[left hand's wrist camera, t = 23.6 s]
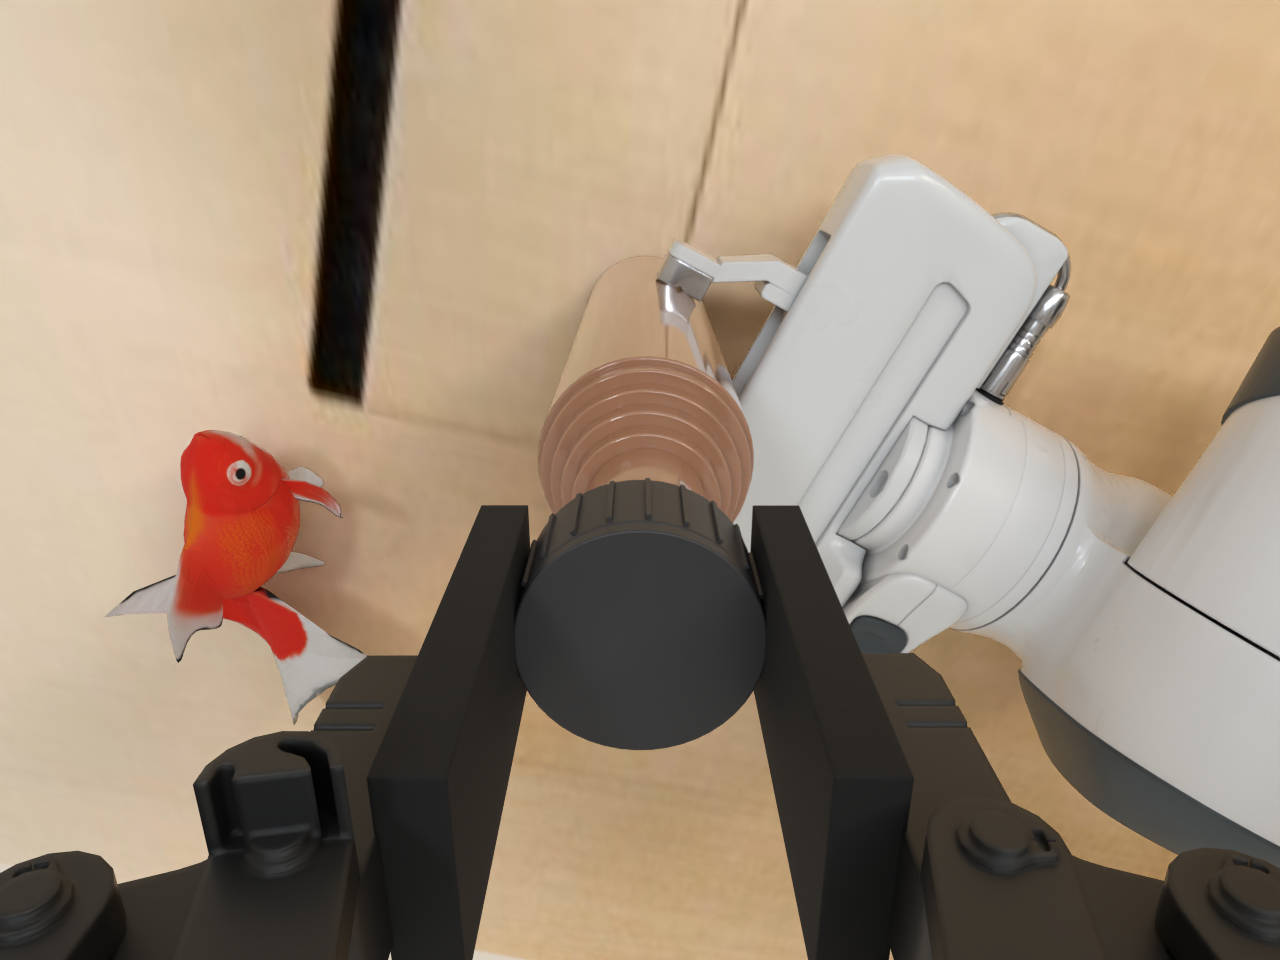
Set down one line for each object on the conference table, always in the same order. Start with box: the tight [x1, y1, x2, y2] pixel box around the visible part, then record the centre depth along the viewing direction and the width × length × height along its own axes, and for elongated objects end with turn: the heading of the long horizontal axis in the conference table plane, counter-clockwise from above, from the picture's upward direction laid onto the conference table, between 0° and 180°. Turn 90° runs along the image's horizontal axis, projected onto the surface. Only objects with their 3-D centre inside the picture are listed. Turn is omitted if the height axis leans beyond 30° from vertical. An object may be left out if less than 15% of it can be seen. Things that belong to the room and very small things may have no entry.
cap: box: [514, 478, 766, 750], centre depth 14 cm, size 4×4×2 cm
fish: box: [105, 430, 367, 724], centre depth 40 cm, size 11×16×10 cm
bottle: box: [538, 256, 754, 523], centre depth 28 cm, size 5×5×25 cm
